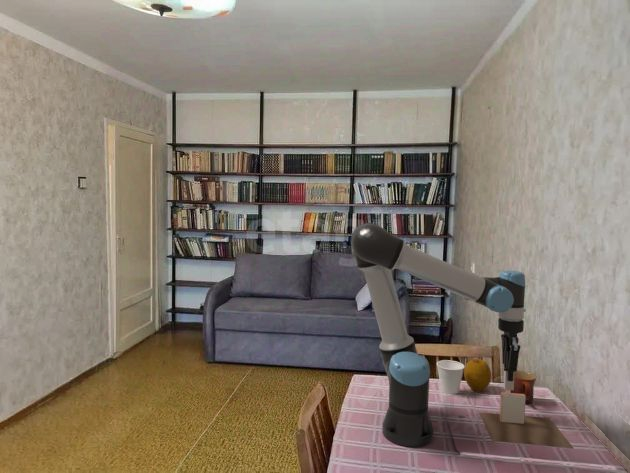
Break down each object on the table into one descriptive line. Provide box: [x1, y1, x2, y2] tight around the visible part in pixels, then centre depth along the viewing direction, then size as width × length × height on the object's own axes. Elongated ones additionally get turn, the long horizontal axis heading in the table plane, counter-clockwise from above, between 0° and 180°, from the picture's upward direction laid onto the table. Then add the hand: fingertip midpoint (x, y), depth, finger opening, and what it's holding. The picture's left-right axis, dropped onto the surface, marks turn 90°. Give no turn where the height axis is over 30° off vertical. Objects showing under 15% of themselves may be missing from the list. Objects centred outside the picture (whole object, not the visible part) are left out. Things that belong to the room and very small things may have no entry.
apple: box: [463, 358, 492, 392], centre depth 166 cm, size 10×10×12 cm
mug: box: [509, 369, 538, 406], centre depth 153 cm, size 12×9×10 cm
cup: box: [436, 359, 466, 395], centre depth 161 cm, size 10×10×11 cm
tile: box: [499, 391, 526, 424], centre depth 138 cm, size 7×2×9 cm, turn 81°
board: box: [478, 411, 574, 449], centre depth 134 cm, size 22×18×1 cm
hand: (508, 389), depth 144 cm, fingers closed
